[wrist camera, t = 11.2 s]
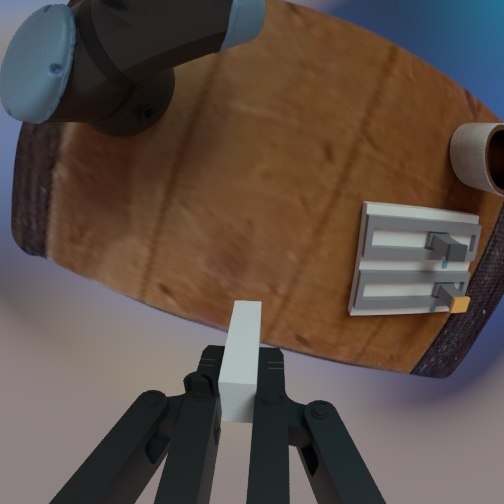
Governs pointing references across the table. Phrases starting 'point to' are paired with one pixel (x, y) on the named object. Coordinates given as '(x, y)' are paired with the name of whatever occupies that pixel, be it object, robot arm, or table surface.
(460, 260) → the fader
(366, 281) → the console
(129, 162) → the table surface
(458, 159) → the planter
